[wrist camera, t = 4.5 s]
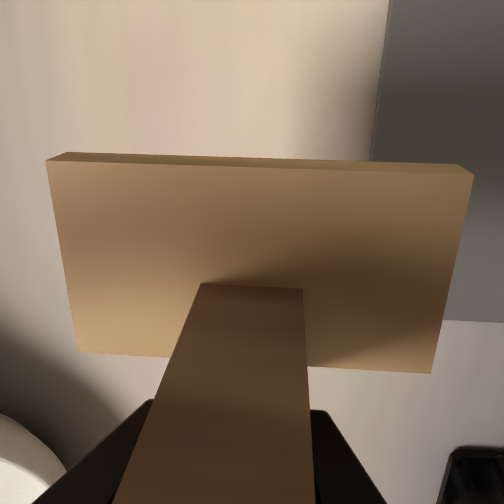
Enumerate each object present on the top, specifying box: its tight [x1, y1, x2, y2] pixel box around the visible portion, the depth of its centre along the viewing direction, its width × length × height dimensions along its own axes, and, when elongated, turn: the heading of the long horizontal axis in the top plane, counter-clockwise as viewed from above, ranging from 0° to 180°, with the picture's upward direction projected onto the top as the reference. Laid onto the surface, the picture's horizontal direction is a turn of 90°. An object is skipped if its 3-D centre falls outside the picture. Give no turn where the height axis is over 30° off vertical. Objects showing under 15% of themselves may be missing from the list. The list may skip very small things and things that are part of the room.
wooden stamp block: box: [45, 152, 474, 504], centre depth 7 cm, size 5×9×9 cm, turn 89°
